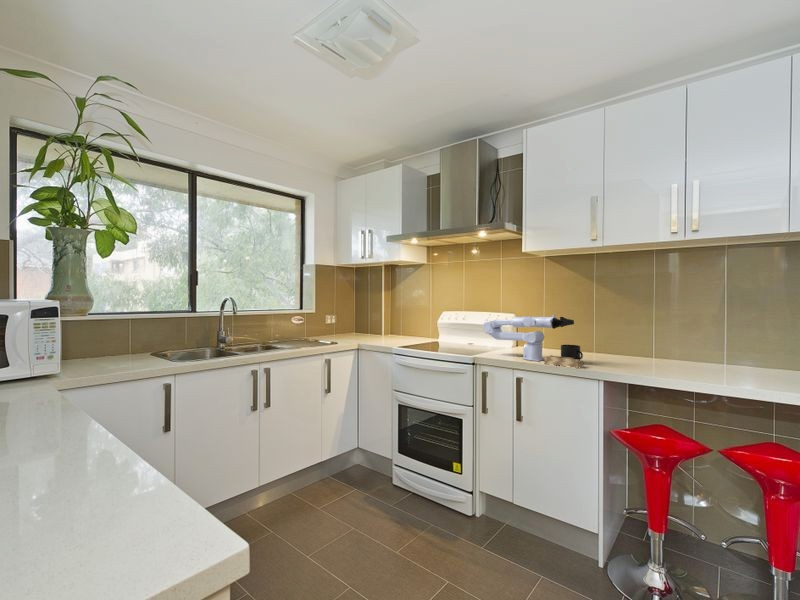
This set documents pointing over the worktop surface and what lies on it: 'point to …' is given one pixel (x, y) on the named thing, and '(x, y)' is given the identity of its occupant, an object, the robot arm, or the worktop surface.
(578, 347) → the mug
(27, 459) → the worktop surface
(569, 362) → the brown lumpy block
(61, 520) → the worktop surface
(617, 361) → the worktop surface
